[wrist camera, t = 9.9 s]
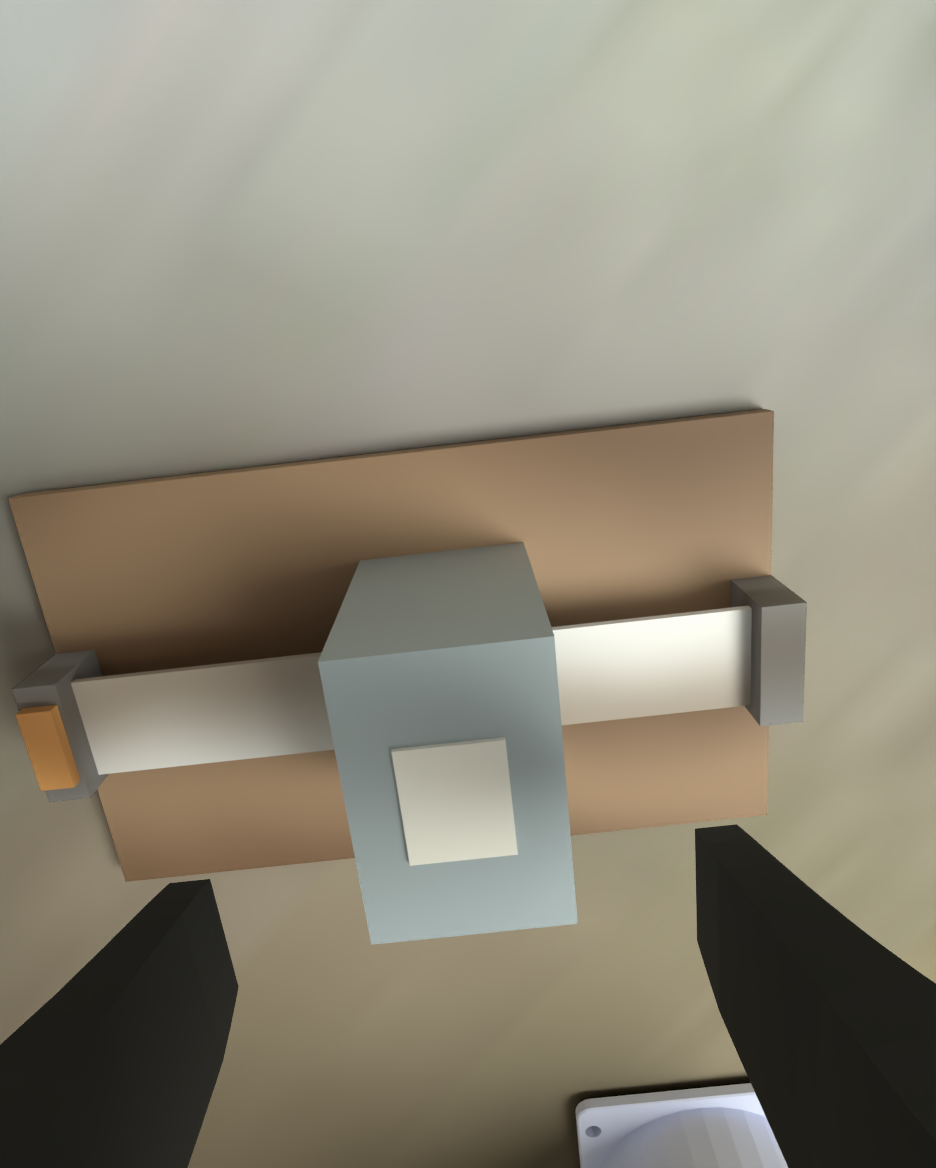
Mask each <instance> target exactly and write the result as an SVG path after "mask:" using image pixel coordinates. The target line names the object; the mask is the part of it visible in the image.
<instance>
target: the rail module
mask: <svg viewBox="0 0 936 1168" xmlns="http://www.w3.org/2000/svg"><path fill="white" fill-rule="evenodd" d="M318 665H319V671H320V676H321V681H322V687H323V692H324V697H325V702H326V708H327V713H328V718H329V724H330V729H331V734H332V739H333V745H334V750H335V755H336V760H337V766H338V771H339V776H340V782H341V787H342V792H343V797H344V803H345V808H346V813H347V819H348V824H349V829H350V834H351V840H352V845H353V850H354V856H355V861H356V866H357V871H358V877H359V882H360V887H361V892H362V898H363V903H364V908H365V914H366V919H367V924H368V929H369V935H370V940H371V945H373V944H382V943H392V942H402V941H412V940H422V939H432V938H442V937H451V936H461V935H471V934H481V933H491V932H501V931H510V930H520V929H530V928H540V927H550V926H560V925H569V924H578V923H577V910H576V898H575V885H574V873H573V861H572V848H571V836H570V824H569V811H568V799H567V786H566V774H565V762H564V749H563V737H562V724H561V712H560V700H559V687H558V675H557V662H556V650H555V638H554V634H553V631H552V627H551V624H550V621H549V618H548V615H547V612H546V609H545V606H544V603H543V600H542V597H541V594H540V591H539V588H538V585H537V582H536V579H535V576H534V573H533V570H532V567H531V563H530V560H529V557H528V554H527V551H526V548H525V545H524V542H521V543H512V544H503V545H494V546H485V547H476V548H467V549H458V550H449V551H440V552H431V553H422V554H413V555H404V556H395V557H386V558H377V559H369V560H360V562H359V564H358V567H357V569H356V571H355V574H354V576H353V579H352V581H351V583H350V586H349V588H348V591H347V593H346V596H345V598H344V600H343V603H342V605H341V608H340V610H339V612H338V615H337V617H336V620H335V622H334V624H333V627H332V629H331V632H330V634H329V636H328V639H327V641H326V644H325V646H324V648H323V651H322V653H321V656H320V658H319V660H318Z"/></svg>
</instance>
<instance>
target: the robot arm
mask: <svg viewBox="0 0 936 1168" xmlns="http://www.w3.org/2000/svg"><path fill="white" fill-rule="evenodd" d="M695 850H696V901H697V941H698V945H699V948H700V951H701V954H702V958H703V961H704V964H705V967H706V971H707V974H708V977H709V980H710V983H711V986H712V990H713V993H714V996H715V999H716V1002H717V1005H718V1008H719V1011H720V1013H721V1016H722V1018H723V1020H724V1023H725V1025H726V1027H727V1030H728V1032H729V1034H730V1037H731V1039H732V1041H733V1043H734V1046H735V1048H736V1050H737V1053H738V1055H739V1057H740V1060H741V1062H742V1064H743V1066H744V1069H745V1071H746V1073H747V1075H748V1078H749V1080H750V1082H751V1083H745V1084H735V1085H725V1086H714V1087H704V1088H694V1089H684V1090H673V1091H663V1092H653V1093H643V1094H632V1095H622V1096H612V1097H601V1098H591V1099H586V1100H583V1101H582V1102H580V1103H579V1104H578V1105H577V1107H576V1111H575V1114H576V1125H577V1135H578V1146H579V1157H580V1168H936V984H935V983H934V982H932V981H931V980H930V979H928V978H927V977H925V976H924V975H922V974H921V973H919V972H918V971H917V970H915V969H914V968H913V967H911V966H910V965H908V964H907V963H906V962H904V961H903V960H902V959H900V958H899V957H897V956H896V955H895V954H893V953H892V952H891V951H889V950H888V949H886V948H885V947H884V946H882V945H881V944H880V943H878V942H877V941H876V940H874V939H873V938H872V937H870V936H869V935H868V934H866V933H865V932H864V931H863V930H861V929H860V928H859V927H857V926H856V925H855V924H854V923H853V922H851V921H850V920H849V919H848V918H846V917H845V916H844V915H843V914H841V913H840V912H839V911H838V910H836V909H835V908H834V907H833V906H831V905H830V904H829V903H828V902H827V901H825V900H824V899H823V898H822V897H820V896H819V895H818V894H817V893H816V892H814V891H813V890H812V889H811V888H810V887H808V886H807V885H806V884H805V883H804V882H803V881H801V880H800V879H799V878H798V877H797V876H796V875H794V874H793V873H792V872H791V871H790V870H789V869H788V868H786V867H785V866H784V865H783V864H782V863H781V862H779V861H778V860H777V859H776V858H775V857H774V856H773V855H771V854H770V853H769V852H768V851H767V850H766V849H765V848H764V847H762V846H761V845H760V844H759V843H758V842H757V841H756V840H754V839H753V838H752V837H751V836H750V835H749V834H747V833H746V832H745V831H744V830H743V829H742V828H740V827H739V826H738V825H728V826H718V827H708V828H699V829H695ZM237 991H238V983H237V980H236V976H235V972H234V968H233V965H232V961H231V957H230V953H229V949H228V946H227V942H226V938H225V934H224V931H223V927H222V923H221V919H220V915H219V912H218V908H217V904H216V900H215V896H214V893H213V889H212V885H211V881H210V879H207V880H197V881H187V882H178V883H170V884H168V885H167V886H166V887H165V888H164V889H163V890H162V891H161V892H160V893H159V894H157V895H156V896H155V897H154V898H153V899H152V900H151V901H150V902H149V903H148V904H147V905H146V906H145V907H144V908H143V909H142V910H141V911H140V912H139V913H138V914H137V915H136V916H135V917H134V918H133V919H132V920H131V921H130V922H129V923H128V924H127V925H126V926H125V927H124V928H123V929H122V930H121V931H120V932H119V933H118V934H117V935H116V936H115V937H114V938H113V939H112V940H111V941H110V942H109V943H108V944H107V945H106V946H105V947H104V948H103V949H102V950H101V951H100V952H99V953H98V954H97V955H96V956H95V957H94V958H93V959H92V960H90V961H89V962H88V963H87V964H86V965H85V966H84V967H83V968H82V969H81V970H80V971H79V972H78V973H77V974H76V975H75V976H74V977H73V978H72V979H71V980H70V981H69V982H68V983H67V984H66V985H65V986H64V987H63V988H62V989H61V990H60V991H59V992H58V993H57V994H56V995H55V996H53V997H52V998H51V999H50V1000H49V1001H48V1002H47V1003H46V1004H45V1005H44V1006H42V1007H41V1008H40V1009H39V1010H38V1011H37V1012H36V1013H35V1014H34V1015H33V1016H31V1017H30V1018H29V1019H28V1020H27V1021H26V1022H25V1023H24V1024H23V1025H22V1026H20V1027H19V1028H18V1029H17V1030H16V1031H15V1032H14V1033H13V1034H12V1035H11V1036H9V1037H8V1038H7V1039H6V1040H5V1041H4V1042H3V1043H2V1044H1V1045H0V1168H187V1167H188V1164H189V1161H190V1158H191V1155H192V1152H193V1149H194V1146H195V1143H196V1140H197V1137H198V1134H199V1132H200V1129H201V1126H202V1123H203V1120H204V1117H205V1114H206V1111H207V1108H208V1105H209V1102H210V1099H211V1096H212V1093H213V1090H214V1086H215V1083H216V1080H217V1077H218V1074H219V1071H220V1068H221V1065H222V1062H223V1058H224V1054H225V1049H226V1045H227V1040H228V1036H229V1031H230V1027H231V1022H232V1017H233V1012H234V1007H235V1002H236V996H237Z"/></svg>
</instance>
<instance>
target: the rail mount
mask: <svg viewBox="0 0 936 1168" xmlns="http://www.w3.org/2000/svg"><path fill="white" fill-rule="evenodd" d="M773 430H774V411H771V410H767V409H757V410H748V411H739V412H731V413H722V414H713V415H704V416H696V417H687V418H678V419H669V420H661V421H652V422H643V423H634V424H626V425H617V426H608V427H599V428H591V429H582V430H573V431H564V432H556V433H547V434H538V435H529V436H521V437H512V438H503V439H494V440H486V441H477V442H468V443H459V444H451V445H442V446H433V447H424V448H416V449H407V450H398V451H389V452H381V453H372V454H363V455H354V456H346V457H337V458H328V459H319V460H311V461H302V462H293V463H284V464H276V465H267V466H258V467H249V468H241V469H232V470H223V471H214V472H206V473H197V474H188V475H179V476H171V477H162V478H153V479H144V480H136V481H127V482H118V483H109V484H101V485H92V486H83V487H74V488H66V489H57V490H48V491H39V492H31V493H22V494H19V495H16V496H14V497H11V498H8V501H9V504H10V507H11V510H12V514H13V517H14V520H15V523H16V527H17V530H18V533H19V536H20V540H21V543H22V546H23V549H24V553H25V556H26V559H27V562H28V566H29V569H30V572H31V575H32V579H33V582H34V585H35V588H36V592H37V595H38V598H39V601H40V605H41V608H42V611H43V614H44V618H45V621H46V624H47V627H48V631H49V634H50V637H51V640H52V644H53V647H54V650H55V653H56V654H55V655H54V656H53V657H51V658H50V659H49V660H48V661H46V662H45V663H44V664H43V665H41V666H40V667H39V668H38V669H36V670H35V671H34V672H33V673H31V674H30V675H29V676H28V677H26V678H25V679H24V680H23V681H22V682H20V683H19V684H18V685H17V686H15V687H14V688H13V689H12V692H13V695H14V698H15V701H16V704H17V707H18V710H19V712H18V713H17V714H16V718H17V721H18V724H19V727H20V730H21V733H22V736H23V739H24V742H25V745H26V748H27V751H28V754H29V757H30V760H31V763H32V766H33V769H34V772H35V775H36V778H37V781H38V784H39V787H40V790H41V791H46V794H47V797H48V800H49V802H55V801H64V800H74V799H83V798H91V796H92V795H93V794H94V792H95V791H96V790H98V793H99V796H100V799H101V803H102V806H103V809H104V812H105V816H106V819H107V822H108V825H109V829H110V832H111V835H112V838H113V842H114V845H115V848H116V851H117V855H118V858H119V861H120V864H121V868H122V871H123V874H124V877H125V881H126V882H127V881H137V880H146V879H156V878H166V877H175V876H185V875H194V874H204V873H214V872H223V871H233V870H242V869H252V868H262V867H271V866H281V865H290V864H300V863H310V862H319V861H329V860H338V859H348V858H355V856H354V850H353V845H352V840H351V834H350V829H349V824H348V819H347V813H346V808H345V803H344V797H343V792H342V787H341V782H340V776H339V771H338V766H337V760H336V755H335V750H334V745H333V739H332V734H331V729H330V724H329V718H328V713H327V708H326V702H325V697H324V692H323V687H322V681H321V676H320V671H319V665H318V660H319V658H320V656H321V653H322V651H323V648H324V646H325V644H326V641H327V639H328V636H329V634H330V632H331V629H332V627H333V624H334V622H335V620H336V617H337V615H338V612H339V610H340V608H341V605H342V603H343V600H344V598H345V596H346V593H347V591H348V588H349V586H350V583H351V581H352V579H353V576H354V574H355V571H356V569H357V567H358V564H359V562H360V560H369V559H377V558H386V557H395V556H404V555H413V554H422V553H431V552H440V551H449V550H458V549H467V548H476V547H485V546H494V545H503V544H512V543H521V542H524V545H525V548H526V551H527V554H528V557H529V560H530V563H531V567H532V570H533V573H534V576H535V579H536V582H537V585H538V588H539V591H540V594H541V597H542V600H543V603H544V606H545V609H546V612H547V615H548V618H549V621H550V624H551V627H552V631H553V634H554V638H555V650H556V662H557V675H558V687H559V700H560V712H561V724H562V737H563V749H564V762H565V774H566V786H567V799H568V811H569V824H570V835H579V834H588V833H598V832H607V831H617V830H627V829H636V828H646V827H656V826H665V825H675V824H684V823H694V822H704V821H713V820H723V819H732V818H742V817H752V816H761V815H767V801H768V739H769V726H770V725H779V724H789V723H798V722H803V704H804V673H805V642H806V611H807V602H805V601H804V600H803V599H802V598H800V597H799V596H798V595H796V594H795V593H794V592H792V591H791V590H790V589H788V588H787V587H786V586H785V585H783V584H782V583H781V582H779V581H778V580H777V579H775V578H774V577H773V576H772V575H771V554H772V492H773Z"/></svg>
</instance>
